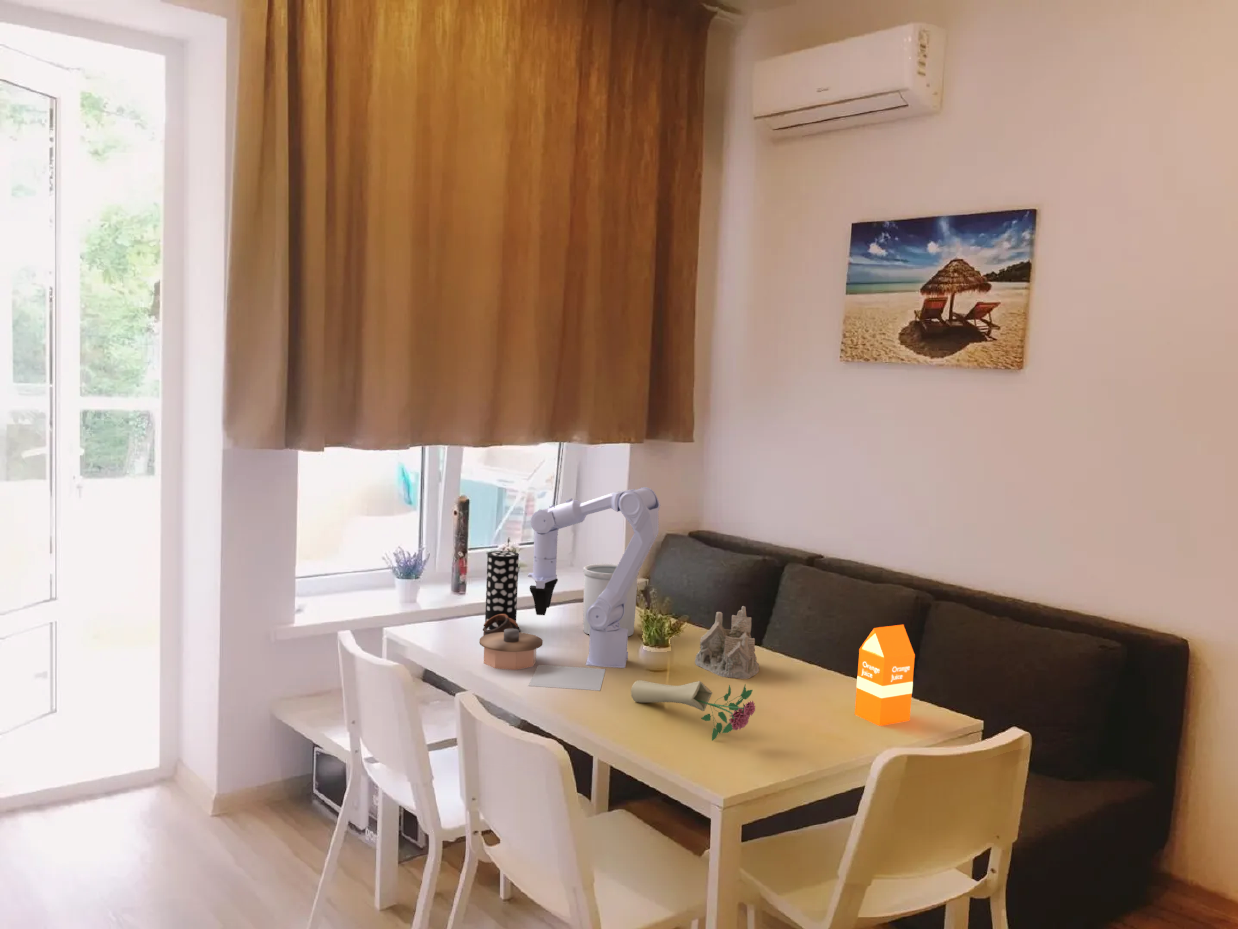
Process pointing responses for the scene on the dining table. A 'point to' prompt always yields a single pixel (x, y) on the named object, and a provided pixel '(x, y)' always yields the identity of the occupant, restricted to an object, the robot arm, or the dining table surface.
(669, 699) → the flower vase
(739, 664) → the ceramic cottage
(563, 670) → the grey mat
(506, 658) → the terracotta bowl
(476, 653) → the dining table surface
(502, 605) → the white-spotted black cylinder
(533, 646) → the walnut lid
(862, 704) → the orange juice
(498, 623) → the brown openwork ring
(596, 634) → the robot arm
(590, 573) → the utensil holder
